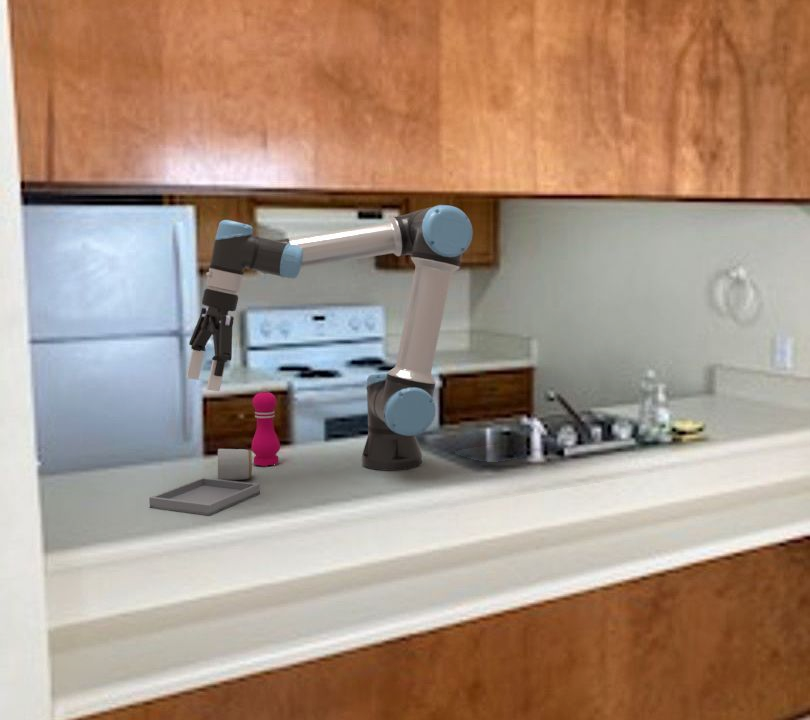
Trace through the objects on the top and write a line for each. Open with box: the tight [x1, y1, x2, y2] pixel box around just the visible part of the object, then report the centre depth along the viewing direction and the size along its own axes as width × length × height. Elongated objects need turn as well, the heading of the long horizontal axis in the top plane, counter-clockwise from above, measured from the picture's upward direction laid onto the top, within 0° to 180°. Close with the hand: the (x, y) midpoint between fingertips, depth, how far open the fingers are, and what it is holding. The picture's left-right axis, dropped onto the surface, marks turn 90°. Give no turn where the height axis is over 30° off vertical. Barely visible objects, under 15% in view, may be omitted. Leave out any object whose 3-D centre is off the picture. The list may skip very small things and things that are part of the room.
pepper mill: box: [251, 385, 281, 467], centre depth 233 cm, size 7×7×20 cm
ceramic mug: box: [217, 448, 253, 481], centre depth 220 cm, size 11×8×8 cm
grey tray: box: [148, 477, 261, 516], centre depth 201 cm, size 16×18×2 cm
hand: (202, 384), depth 203 cm, fingers open, 13 cm apart
